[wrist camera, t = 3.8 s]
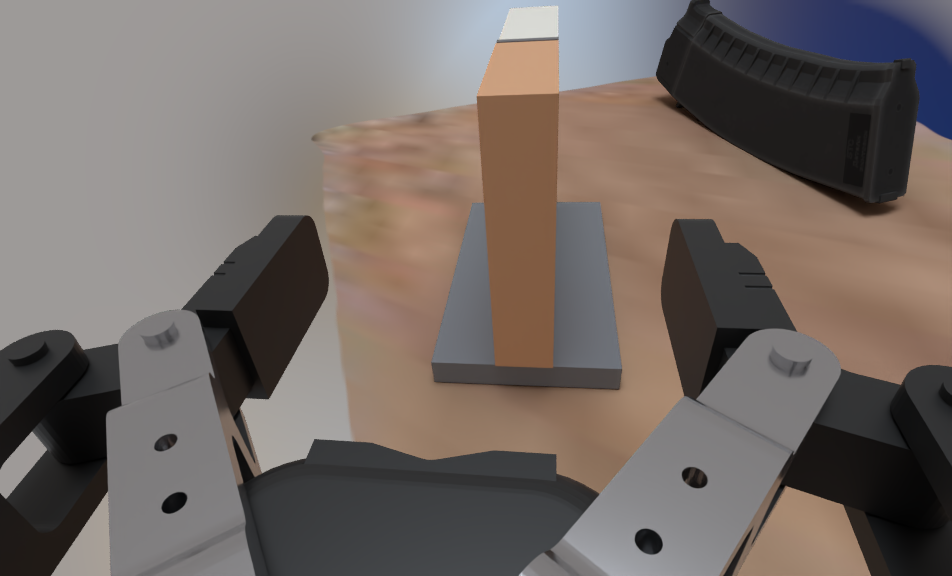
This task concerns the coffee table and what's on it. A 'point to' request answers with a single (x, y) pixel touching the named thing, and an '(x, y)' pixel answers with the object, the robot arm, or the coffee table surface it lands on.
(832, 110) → the magazine
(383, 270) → the coffee table surface
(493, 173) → the brown rectangular block
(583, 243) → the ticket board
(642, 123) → the coffee table surface
